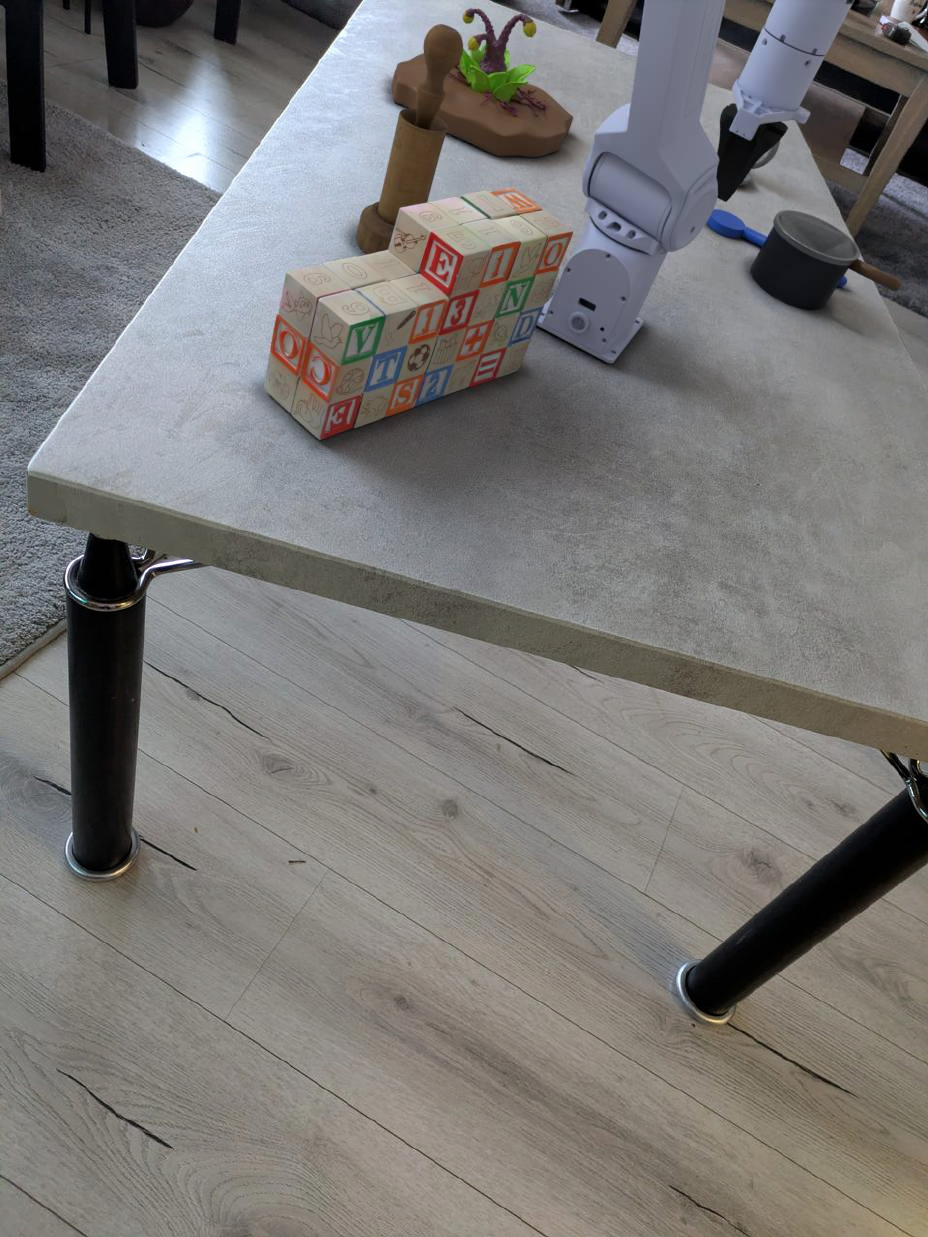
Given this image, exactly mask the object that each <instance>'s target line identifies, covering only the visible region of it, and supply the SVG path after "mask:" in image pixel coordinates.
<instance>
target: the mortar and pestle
mask: <svg viewBox="0 0 928 1237" xmlns="http://www.w3.org/2000/svg"><path fill="white" fill-rule="evenodd" d="M422 45H423V48H422V49H423V53H424V56H425V61H426V66H427V76H426V78H425V80H424V81H423V82H421V83H419V84H418V86H417V100H416V109H409V108H403V109H401V110H400V111H399V113H398V117H397V121H396V126H395V131H394V136H393V140H392V143H391V144H392V146H391V149H390V152H389V159H388V162H387V167H386V171H385V175H384V180H383V186H382V189H381V193H380V197H379V201H376V202H374V203H373V204H370V205H367V206H366V207H364V208H363V210H362V211H361V213H360V216H359V222H358V227H357V230H356V234H355V235H356V236H355V240H356V244H357V246H358V247H359V248H360V250H361V251H362V252H363V253H365V255H367V254H371V253H376V252H380V251H385V250H388V248H389V244H390V241H391V238H392V234H393V230H394V227H395V223H396V220H397V216H398V212H399V209H400V208H402V207H407V206H412V205H417V204H423V203H429V197H430V194H431V190H432V186H433V182H434V180H435V179H434V178H435V174H436V172H437V168H438V163H439V161H440V160H439V159H440V157H441V152H442V149H443V145H444V142H445V138H446V135H447V133H446V132H447V124H446V123H445V122H444V121H443V120H442V119H440V118H439V117H437V116H435V115H436V113H437V112H438V110H439V108H440V106H441V104H442V103H443V100H444V98H445V96H446V93H445V91H444V89H443V84H444V79H445V77H446V75H447V74H448V73H449V72H450V71H451V70H452V69H453V68H454V67H455V66H456V65H457V63H458V62H459V61H460V59H461V57H462V53H463V49H464V42H463V37H462V35H461V34H460V32H459V31H458V30H457V29H456V28H454V27H452V26H450V25H448V24H443V23H438V24H436V25H434V26H432V27H431V28H430V29H429V30H428V32H427V33H426V35H425V38H424V40H423V44H422Z"/></svg>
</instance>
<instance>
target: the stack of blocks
mask: <svg viewBox="0 0 928 1237" xmlns="http://www.w3.org/2000/svg"><path fill="white" fill-rule="evenodd" d="M573 235H574V230H573V229H572V228H571V227H569V226H568V225H567V224H565V222H562V220H559V218H557V217H556V216H555V215H553V214H552V213H550V212H549V211H548V210H546V209H543V208H542V206H540V205H539V204H537V203H536V202H534V201H533V200H532V199H530V198H529V197H527V195H524V194H523V193H522V192H520V191H518V190H517V189H516V188H513V187H510V188H506V189H502V190H501V189H500V190H494V191H488V190H481V191H476V192H470V193H464V194H461V195H460V196H453V197H452V196H451V197H447V198H442V199H437V200H432V201H430V202H427V203H423V204H417V205H412V206H407V207H402V208H400V209H399V212H398V216H397V220H396V223H395V227H394V230H393V234H392V238H391V241H390V244H389V248H388V250H385V251H380V252H376V253H371V254H362V255H359V256H351V257H345V258H341V259H336V260H331V261H325V262H323V263H321V264H315V265H310V266H306V267H300V268H296V269H292V270H288V271H286V272H285V277H284V282H283V287H282V292H281V297H280V302H279V308H278V313H277V314H276V316H275V321H274V325H273V329H272V330H273V331H272V337H271V342H270V348H269V350H270V351H269V352H270V353H269V355H268V361H267V367H266V371H265V377H264V384H263V390H265V391H266V392H267V394H269V395H270V396H271V397H272V398H273V399H274V400H275V401H276V402H277V403H278V404H279V405H280V406H281V407H282V408H284V409H285V410H286V411H287V412H288V413H290V414H291V416H292V417H293V418H294V419H295V420H297V422H298V423H300V424H301V425H302V426H303V427H304V428H305V429H306V430H307V431H309V432H310V433H311V434H312V435H313V436H314V437H315V438H317V439H318V440H319V441H320V440H324V439H326V438H329V437H332V436H335V435H337V434H339V433H343V432H346V431H347V430H351V429H357V428H360V427H363V426H365V425H369V424H372V423H374V422H377V421H380V420H382V419H383V418H387V417H391V416H394V415H396V414H399V413H402V412H405V411H408V410H411V409H413V408H414V407H417V406H420V405H422V404H423V405H424V404H425V403H428V402H432V401H434V400H436V399H439V398H442V397H444V396H447V395H450V394H452V393H455V392H458V391H461V390H465V389H467V388H472V387H475V386H478V385H481V384H484V383H486V382H490V381H493V380H494V379H498V378H502V377H505V376H507V375H511V374H514V373H517V372H518V371H519V370H520V369H521V367H522V364H523V361H524V358H525V355H526V354H527V352H528V349H529V346H530V344H531V342H532V337H533V334H534V332H535V330H536V327H537V322H538V320H539V317H540V315H541V313H542V310H543V308H544V305H545V303H546V302H547V301H548V300H549V297H550V295H551V293H552V290H553V288H554V285H555V282H556V280H557V276H558V274H559V273H560V267H561V264H562V262H563V261H564V260H563V259H564V258H565V255H566V253H567V250H568V247H569V245H570V243H571V240H572V238H573Z"/></svg>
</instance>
